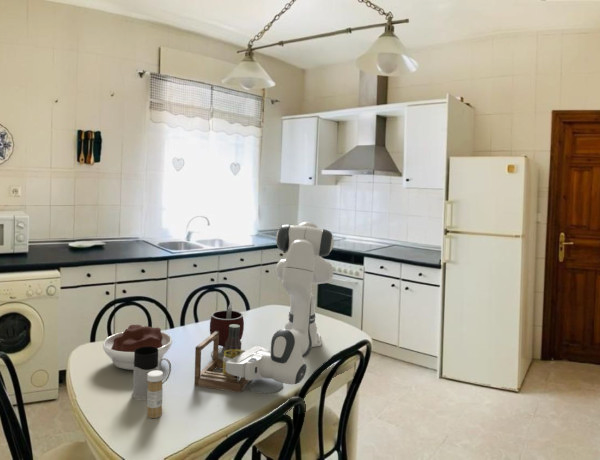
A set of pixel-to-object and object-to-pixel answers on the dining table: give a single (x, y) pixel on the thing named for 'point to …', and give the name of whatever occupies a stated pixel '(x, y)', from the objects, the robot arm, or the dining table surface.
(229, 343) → the sauce bottle
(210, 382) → the walnut rack
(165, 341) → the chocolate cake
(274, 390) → the slate mat
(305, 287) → the robot arm
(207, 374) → the birch offcuts
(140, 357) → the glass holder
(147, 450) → the dining table surface
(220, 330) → the mate gourd
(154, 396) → the sprinkles bottle
